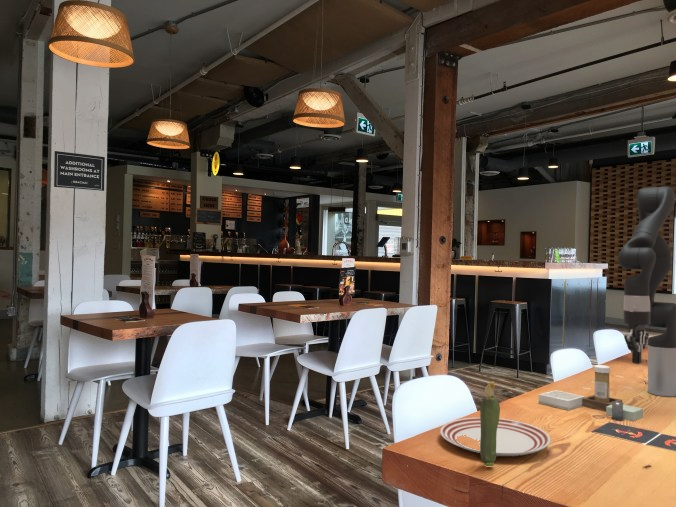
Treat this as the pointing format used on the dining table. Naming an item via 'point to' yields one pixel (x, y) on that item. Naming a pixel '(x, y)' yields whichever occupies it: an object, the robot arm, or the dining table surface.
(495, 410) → the vegetable
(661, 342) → the robot arm
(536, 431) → the dinner plate
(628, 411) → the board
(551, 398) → the tray
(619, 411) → the cylinder
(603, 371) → the sprinkles bottle
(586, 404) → the socket block
